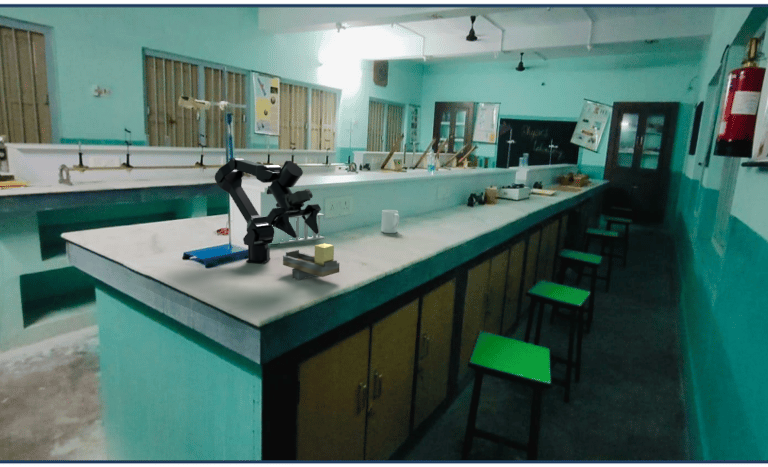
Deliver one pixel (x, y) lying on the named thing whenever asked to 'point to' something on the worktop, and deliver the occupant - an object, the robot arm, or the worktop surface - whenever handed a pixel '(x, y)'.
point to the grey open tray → (308, 265)
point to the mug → (389, 221)
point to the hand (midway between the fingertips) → (306, 235)
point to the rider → (324, 253)
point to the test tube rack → (305, 231)
